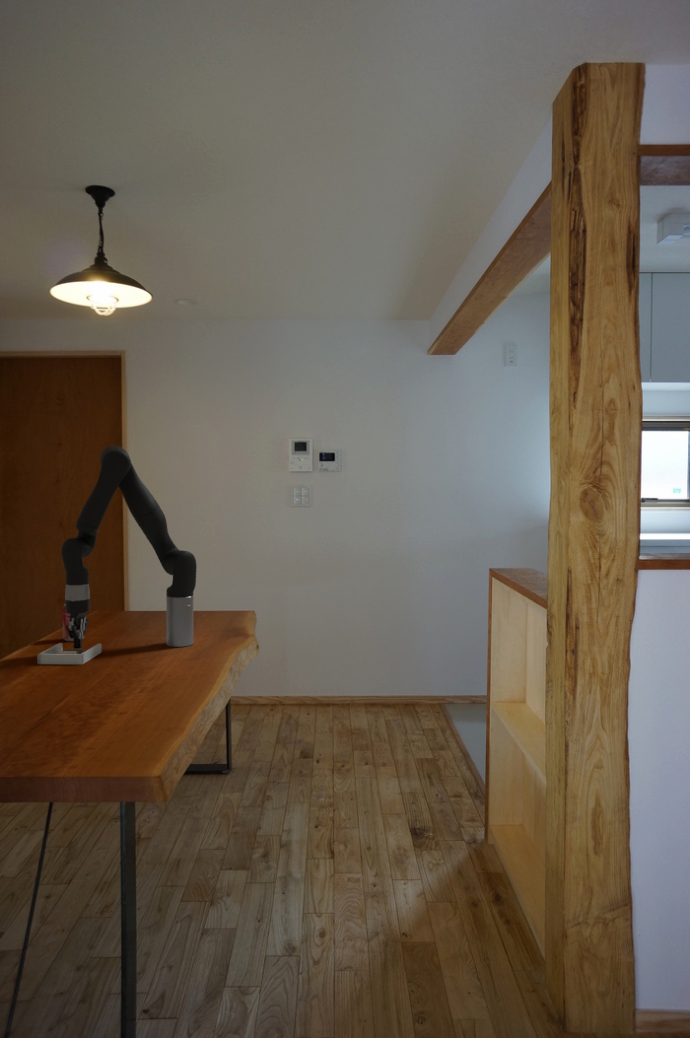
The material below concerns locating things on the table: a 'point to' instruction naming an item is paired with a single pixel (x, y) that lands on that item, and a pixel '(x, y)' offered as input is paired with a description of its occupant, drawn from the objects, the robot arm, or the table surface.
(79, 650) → the beige flat square block
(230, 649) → the table surface
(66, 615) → the soda can
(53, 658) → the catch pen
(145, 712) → the table surface
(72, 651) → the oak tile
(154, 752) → the table surface
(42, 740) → the table surface
